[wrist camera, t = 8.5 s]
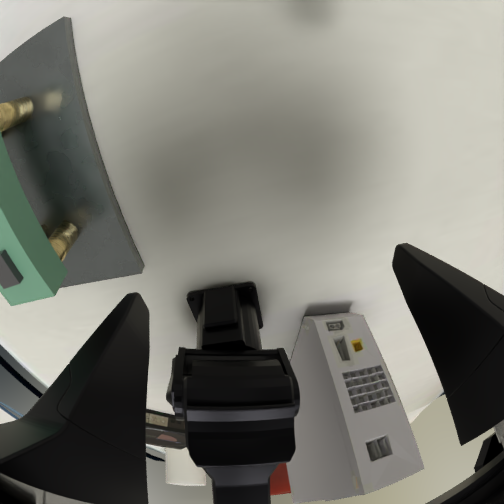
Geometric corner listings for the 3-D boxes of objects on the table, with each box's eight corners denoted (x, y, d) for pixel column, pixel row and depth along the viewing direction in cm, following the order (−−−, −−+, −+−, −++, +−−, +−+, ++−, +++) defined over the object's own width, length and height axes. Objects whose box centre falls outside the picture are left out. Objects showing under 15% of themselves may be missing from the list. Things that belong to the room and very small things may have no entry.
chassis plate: (144, 265, 23) (131, 307, 19) (39, 285, 23) (21, 319, 19) (70, 18, 10) (32, 9, 6) (-36, 102, 10) (-71, 117, 6)
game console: (273, 404, 43) (290, 504, 27) (305, 301, 27) (361, 495, 11) (304, 400, 44) (325, 496, 28) (354, 297, 28) (424, 468, 12)
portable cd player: (207, 418, 46) (208, 435, 43) (180, 435, 54) (181, 449, 51) (126, 400, 40) (124, 419, 37) (116, 421, 48) (114, 436, 45)
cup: (209, 453, 67) (211, 485, 57) (175, 453, 67) (175, 485, 57) (196, 445, 60) (197, 483, 50) (159, 445, 60) (158, 481, 51)
